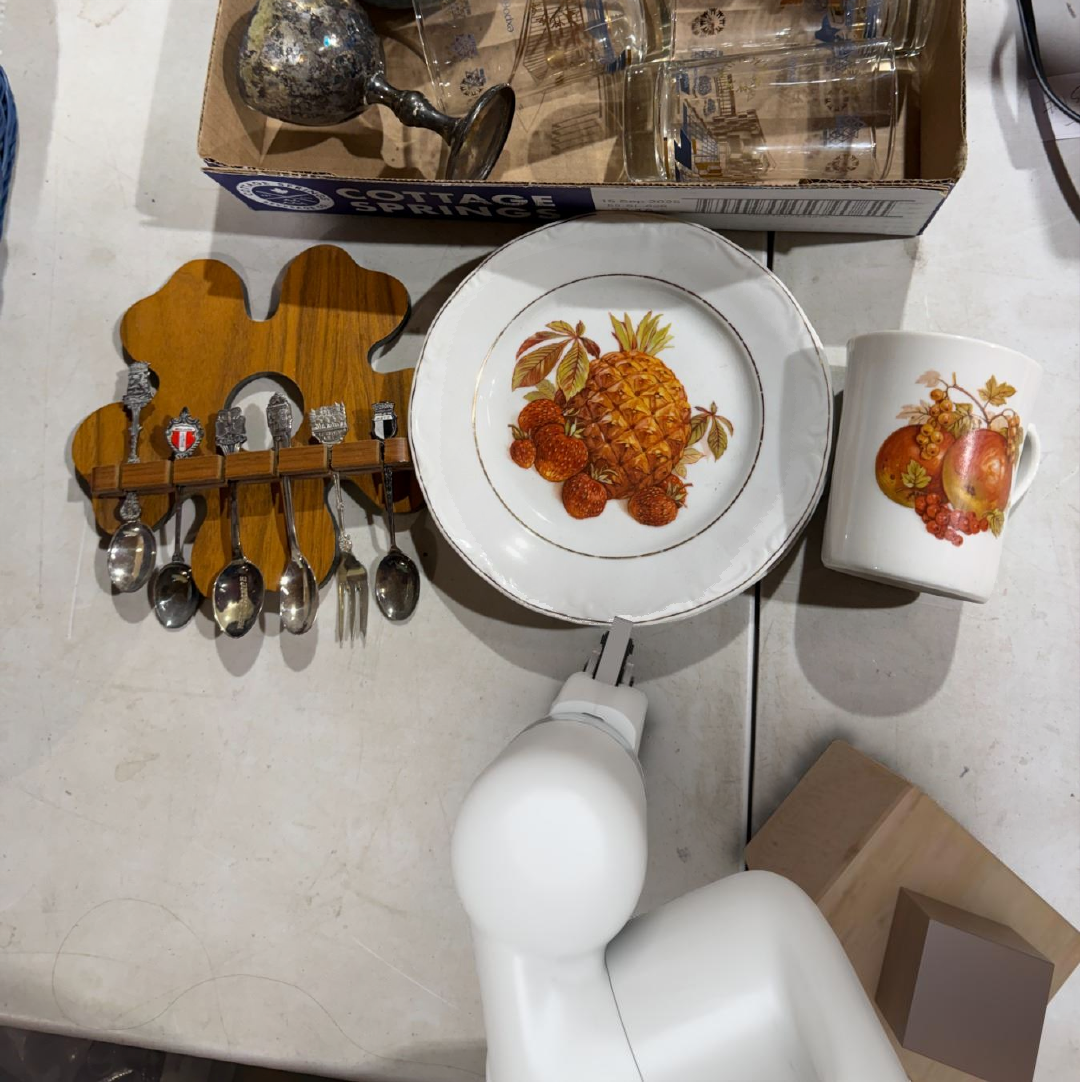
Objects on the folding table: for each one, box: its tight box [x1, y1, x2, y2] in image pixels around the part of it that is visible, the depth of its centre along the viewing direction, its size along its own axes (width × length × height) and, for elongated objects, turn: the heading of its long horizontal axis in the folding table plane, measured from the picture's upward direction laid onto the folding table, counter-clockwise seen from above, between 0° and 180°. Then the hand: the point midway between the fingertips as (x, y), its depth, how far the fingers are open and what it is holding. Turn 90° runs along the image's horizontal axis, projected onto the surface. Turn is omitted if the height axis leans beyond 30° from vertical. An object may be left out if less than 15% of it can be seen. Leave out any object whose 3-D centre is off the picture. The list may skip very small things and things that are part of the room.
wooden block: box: [742, 738, 1080, 1082], centre depth 54 cm, size 10×10×20 cm
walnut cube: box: [875, 887, 1055, 1082], centre depth 42 cm, size 5×5×5 cm
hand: (587, 747), depth 64 cm, fingers open, 9 cm apart
